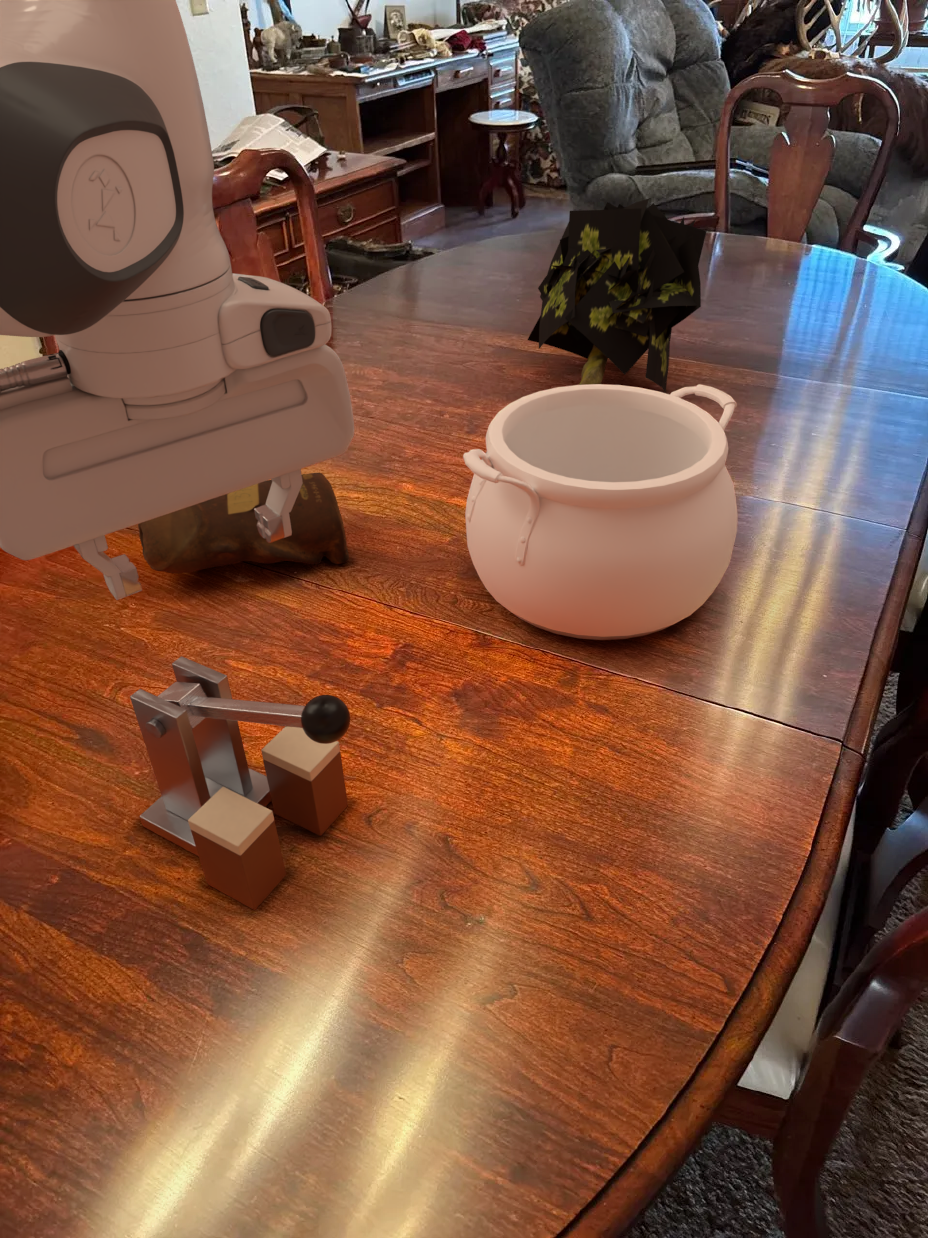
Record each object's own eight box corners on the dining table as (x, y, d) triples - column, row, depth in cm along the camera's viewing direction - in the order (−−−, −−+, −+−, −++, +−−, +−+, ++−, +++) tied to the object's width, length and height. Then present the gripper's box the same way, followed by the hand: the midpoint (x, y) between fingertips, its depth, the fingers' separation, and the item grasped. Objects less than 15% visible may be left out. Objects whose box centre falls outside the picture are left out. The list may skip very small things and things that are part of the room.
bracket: (280, 791, 73) (255, 669, 65) (210, 863, 67) (174, 739, 60) (214, 760, 76) (182, 638, 68) (142, 826, 70) (98, 703, 63)
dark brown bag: (144, 548, 101) (128, 487, 97) (326, 512, 107) (319, 454, 102) (155, 612, 92) (138, 549, 87) (354, 570, 98) (348, 508, 93)
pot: (552, 702, 81) (561, 534, 70) (410, 559, 99) (400, 410, 88) (790, 597, 92) (828, 440, 82) (623, 487, 110) (637, 347, 100)
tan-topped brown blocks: (254, 911, 64) (238, 846, 60) (206, 884, 66) (187, 820, 62) (348, 805, 72) (339, 741, 67) (302, 784, 73) (291, 720, 69)
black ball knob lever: (366, 725, 57) (348, 686, 56) (337, 756, 55) (318, 716, 54) (195, 708, 67) (177, 674, 66) (166, 733, 65) (146, 699, 64)
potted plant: (654, 442, 123) (746, 212, 115) (496, 384, 123) (577, 152, 115) (640, 437, 143) (717, 241, 136) (505, 387, 144) (574, 190, 136)
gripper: (-58, 407, 39) (40, 659, 47) (357, 304, 48) (376, 528, 57) (-89, 363, 43) (6, 601, 51) (299, 275, 52) (325, 488, 61)
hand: (203, 562), depth 54 cm, fingers open, 8 cm apart
